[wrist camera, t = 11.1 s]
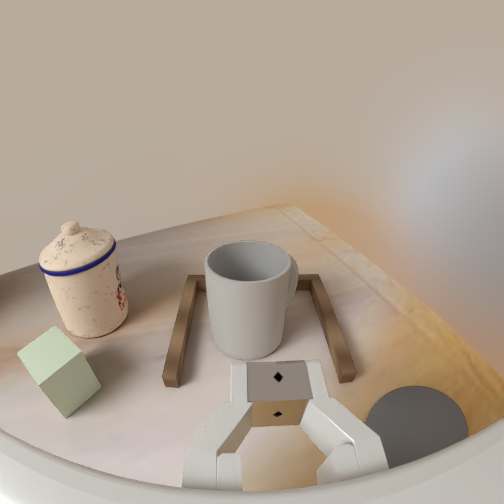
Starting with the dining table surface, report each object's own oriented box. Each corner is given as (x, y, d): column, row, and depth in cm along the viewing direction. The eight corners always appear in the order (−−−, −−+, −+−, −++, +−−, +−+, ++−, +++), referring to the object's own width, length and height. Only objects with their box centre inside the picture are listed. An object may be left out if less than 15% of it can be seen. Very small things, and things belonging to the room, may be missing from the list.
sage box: (41, 388, 19) (16, 353, 16) (74, 361, 23) (55, 325, 20) (66, 419, 17) (38, 385, 14) (102, 387, 21) (81, 350, 18)
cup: (197, 330, 28) (188, 255, 24) (269, 296, 34) (273, 227, 30) (240, 374, 23) (239, 295, 19) (315, 326, 29) (328, 253, 25)
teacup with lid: (143, 320, 29) (121, 222, 24) (73, 352, 24) (31, 253, 18) (110, 275, 37) (93, 197, 31) (55, 297, 31) (30, 218, 26)
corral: (352, 381, 22) (356, 371, 22) (165, 386, 22) (161, 376, 21) (316, 284, 36) (318, 274, 35) (189, 284, 36) (188, 274, 35)
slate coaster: (424, 504, 10) (428, 502, 10) (338, 436, 18) (340, 432, 17) (479, 422, 15) (482, 419, 15) (406, 374, 23) (408, 370, 22)
